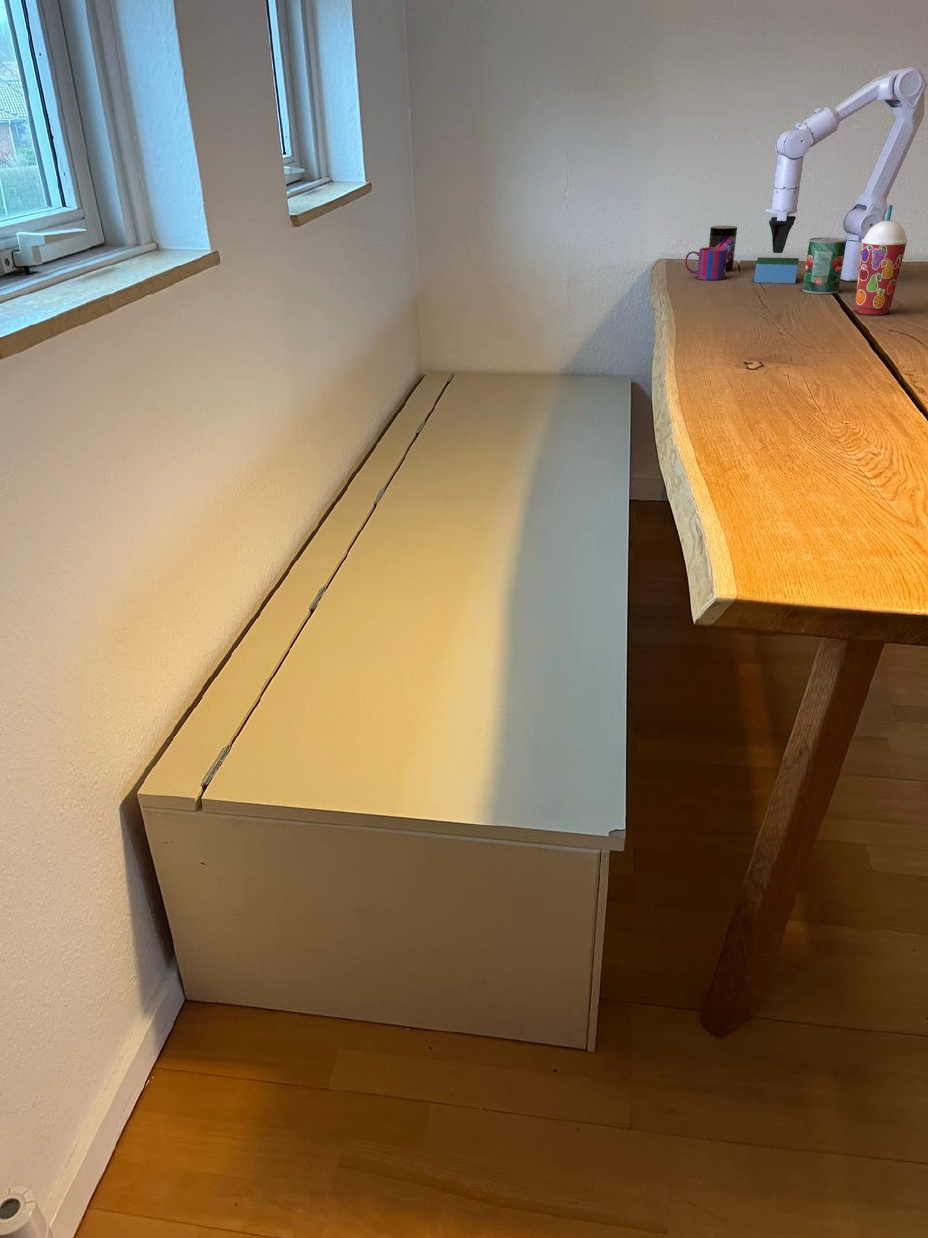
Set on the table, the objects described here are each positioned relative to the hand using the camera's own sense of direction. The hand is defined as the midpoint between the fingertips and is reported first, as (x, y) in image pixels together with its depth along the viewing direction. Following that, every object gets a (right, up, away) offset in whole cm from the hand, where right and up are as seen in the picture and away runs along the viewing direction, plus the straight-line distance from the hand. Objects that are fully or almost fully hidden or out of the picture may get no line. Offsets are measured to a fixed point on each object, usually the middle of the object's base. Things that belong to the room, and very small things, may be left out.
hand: (778, 250), depth 222 cm
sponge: (0, -6, +3) cm, 7 cm away
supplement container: (-8, +3, +21) cm, 23 cm away
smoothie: (+8, -26, -33) cm, 43 cm away
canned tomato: (+6, -13, -10) cm, 18 cm away
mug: (-15, -3, +10) cm, 19 cm away
